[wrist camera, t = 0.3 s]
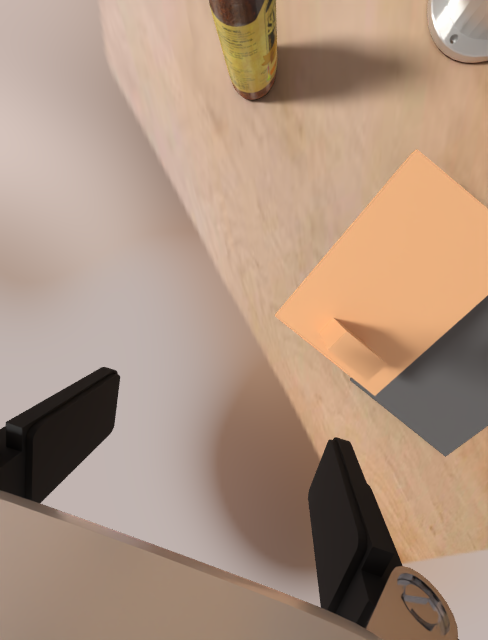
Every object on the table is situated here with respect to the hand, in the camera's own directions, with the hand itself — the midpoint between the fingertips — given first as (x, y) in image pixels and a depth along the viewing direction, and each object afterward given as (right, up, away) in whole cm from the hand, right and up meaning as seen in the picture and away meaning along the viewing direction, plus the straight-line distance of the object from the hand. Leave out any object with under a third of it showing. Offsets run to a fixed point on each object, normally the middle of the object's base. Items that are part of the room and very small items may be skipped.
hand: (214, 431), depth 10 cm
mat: (+34, -1, +26) cm, 43 cm away
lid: (+18, +9, +19) cm, 28 cm away
